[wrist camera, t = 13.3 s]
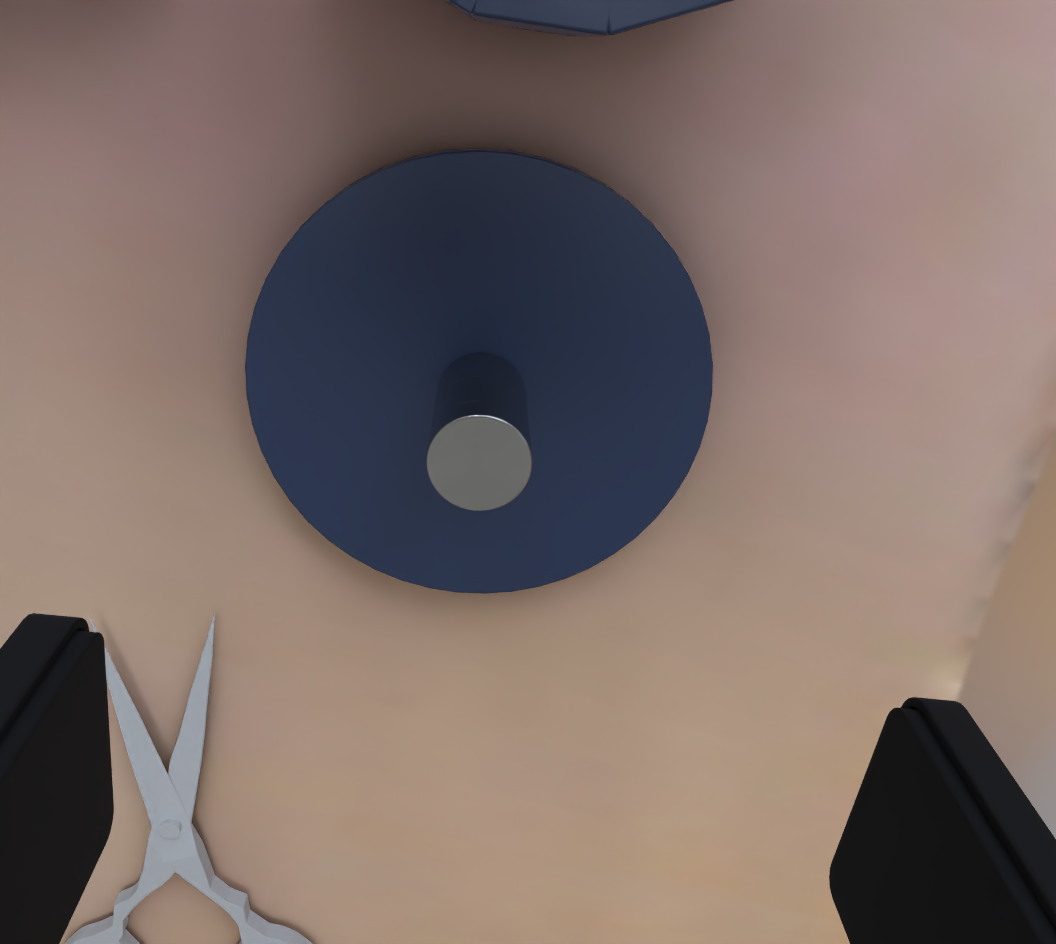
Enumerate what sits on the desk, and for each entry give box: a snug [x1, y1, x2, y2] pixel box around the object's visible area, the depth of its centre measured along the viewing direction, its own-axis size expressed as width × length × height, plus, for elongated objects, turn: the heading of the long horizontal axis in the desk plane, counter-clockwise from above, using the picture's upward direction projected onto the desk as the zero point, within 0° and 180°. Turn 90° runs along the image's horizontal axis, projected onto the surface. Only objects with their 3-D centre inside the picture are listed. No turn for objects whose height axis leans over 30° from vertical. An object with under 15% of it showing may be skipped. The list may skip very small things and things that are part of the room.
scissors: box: [65, 613, 312, 944], centre depth 35 cm, size 11×1×20 cm
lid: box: [245, 148, 713, 593], centre depth 26 cm, size 14×14×6 cm
